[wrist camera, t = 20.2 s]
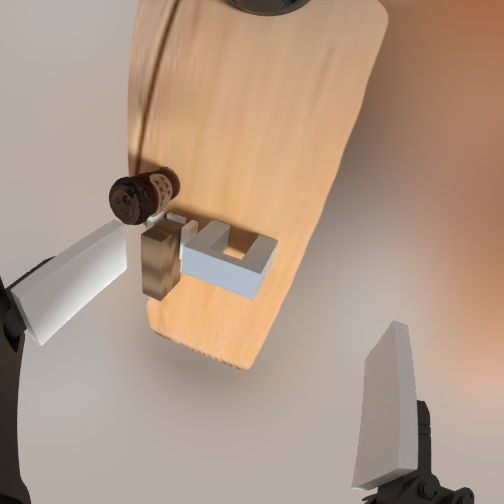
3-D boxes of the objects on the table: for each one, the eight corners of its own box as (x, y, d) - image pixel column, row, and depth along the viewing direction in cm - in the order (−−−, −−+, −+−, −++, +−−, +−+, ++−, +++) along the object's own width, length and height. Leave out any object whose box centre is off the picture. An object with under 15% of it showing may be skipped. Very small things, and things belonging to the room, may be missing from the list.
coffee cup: (182, 158, 48) (136, 175, 37) (190, 201, 51) (150, 228, 40) (146, 166, 51) (100, 184, 40) (155, 204, 54) (113, 230, 43)
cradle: (158, 208, 54) (147, 215, 51) (198, 221, 53) (188, 230, 50) (157, 260, 61) (147, 269, 58) (193, 275, 60) (184, 285, 56)
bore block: (213, 219, 52) (183, 245, 42) (278, 240, 50) (260, 274, 40) (210, 242, 54) (181, 271, 45) (271, 263, 52) (253, 299, 43)
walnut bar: (165, 218, 54) (141, 234, 47) (184, 224, 53) (161, 242, 46) (162, 273, 61) (142, 292, 54) (179, 280, 60) (160, 301, 54)
